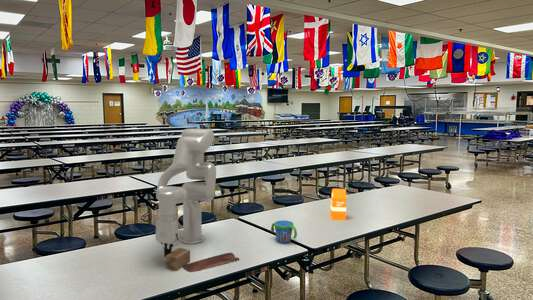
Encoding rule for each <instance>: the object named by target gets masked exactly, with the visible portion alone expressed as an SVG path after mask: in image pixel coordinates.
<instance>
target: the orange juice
mask: <svg viewBox="0 0 533 300" xmlns="http://www.w3.org/2000/svg"><path fill="white" fill-rule="evenodd" d="M346 189H347V188H332V190H331V195H330V215H329V217H330V220H331V221H346V218H347V217H346V216H347V190H346Z"/></svg>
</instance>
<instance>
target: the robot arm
mask: <svg viewBox="0 0 533 300" xmlns="http://www.w3.org/2000/svg"><path fill="white" fill-rule="evenodd" d="M214 140H215V134H214V131H213V130H212V129H209V128H208V129H207V128H185V129H183V130H182V131H181V137H179V139H177V142H176V146H175V150H174V155H173V160H172V163H171V165H170V166H169V167H168V168H167V169H165V170H164V172H163V173H162V174H161V176H160V177H159V180H158V183H157V186H156V187H157V188H156V191H155V196H156V199H157V200H158V213H157V214H156V215H157V217H158V219H157V221H156V225H155V240H156V242H158V243H159V244H161V245H162V248H163V254H164V255H163V256H164V257H165V258H166V255H168V254H169V253H171V252H173V251H172V249H173V247H175V246H176V247H177V246H178V245H179V242H178V241H179V239H180V242H181V243H183V244H188V245H193V244H194V245H195V244H199V243H202V242H203V241H204V240H205V235H203V234H202V206H201V204H200V202H210V201H212V200H213V199H214V197H215V193H216V192H215V191H216V181H217V168H216V166H215V164H214V163H212V162H204V156H205V153H206V152H207V151H208V149H209V148H210V147H211V146H212V145H213V143H214ZM184 172H185V175H186V178H187V179H188V180H195V181H189V182H188V181H187V182H185V183H183V184H182V186H173V185H169V186H168V183H169V182H170V180H171V179H173V177H175V176H177V175H179V174H181V173H184ZM196 181H198V182H196ZM199 181H205V182H199ZM178 204H182V206H183V207H182V209H183V210H182V212H183V213H182V214H183V215H182V216H183V217H182V221H183V222H182V223H183V226H182V227H183V228H182V229H179V224H178V220H177V205H178ZM180 236H181V237H180Z"/></svg>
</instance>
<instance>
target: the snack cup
mask: <svg viewBox="0 0 533 300" xmlns="http://www.w3.org/2000/svg"><path fill="white" fill-rule="evenodd" d="M270 232H271V233H274V232H275V237H276V238H275V239H276V242H277V243H280V244H288V243H290V242H291V239H292V235H293V240H294V239H296V238H297V236H298V232H297V229H296V227H295V224H294V222H293V221H290V220H284V219H283V220H281V219H280V220H277V221H275V222H273V223H272V224H271V227H270Z"/></svg>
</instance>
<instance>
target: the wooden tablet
mask: <svg viewBox="0 0 533 300" xmlns="http://www.w3.org/2000/svg"><path fill="white" fill-rule="evenodd" d="M239 259H240V258H239V257H237V256H235V254H234V253H233V252H226V253H225V252H224V253H222V254H219V255H214V256H211V257H206V258H204V259H203V258H202V259H200V260H197V261H192V262H189V263H188V264H186V265H184V266H183V267H182V268H181V269H183V270H184V271H186V272H188V273H195V272H200V271H204V270H207V269H208V270H209V269H211V268H215V267H218V266H223V265H226V264H231V263H234V261H235V262H238V261H240V260H239ZM237 260H238V261H237ZM230 262H231V263H230Z"/></svg>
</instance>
